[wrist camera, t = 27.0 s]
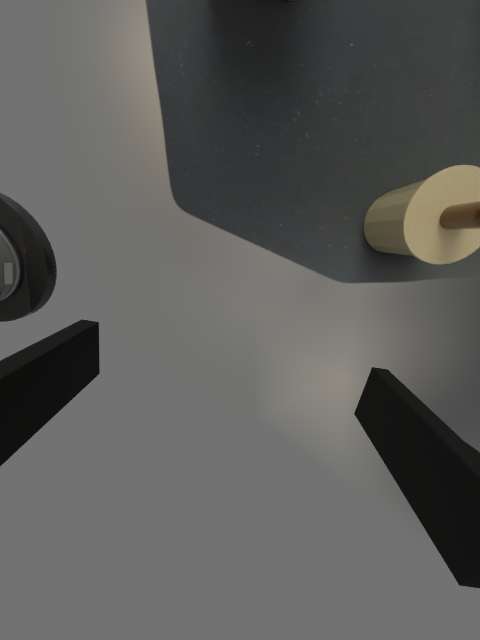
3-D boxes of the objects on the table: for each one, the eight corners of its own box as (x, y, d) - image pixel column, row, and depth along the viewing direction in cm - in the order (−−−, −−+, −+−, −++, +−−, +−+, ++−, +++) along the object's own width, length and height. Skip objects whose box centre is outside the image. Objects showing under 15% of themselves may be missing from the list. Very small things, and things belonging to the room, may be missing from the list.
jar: (355, 247, 40) (394, 251, 30) (375, 184, 37) (425, 164, 27) (410, 257, 40) (467, 264, 30) (433, 195, 37) (506, 180, 27)
